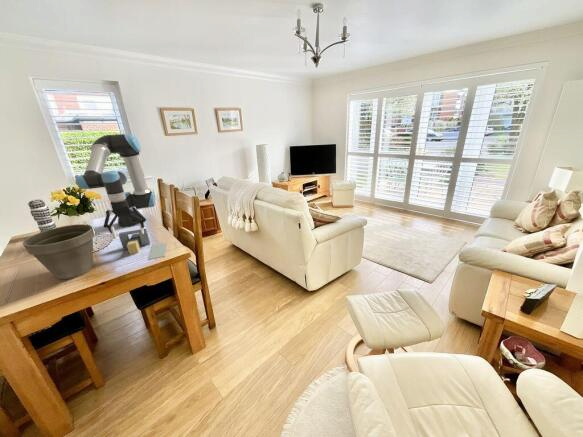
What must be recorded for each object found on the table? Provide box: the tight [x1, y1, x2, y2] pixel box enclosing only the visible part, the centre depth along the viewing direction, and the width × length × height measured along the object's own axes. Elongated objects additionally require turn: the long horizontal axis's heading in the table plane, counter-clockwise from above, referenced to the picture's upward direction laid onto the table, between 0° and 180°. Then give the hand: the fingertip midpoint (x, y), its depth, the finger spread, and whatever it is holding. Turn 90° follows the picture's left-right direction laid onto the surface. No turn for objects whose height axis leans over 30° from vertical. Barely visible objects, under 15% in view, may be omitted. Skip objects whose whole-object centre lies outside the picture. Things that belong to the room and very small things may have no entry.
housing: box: [118, 228, 151, 250], centre depth 145 cm, size 3×14×10 cm, turn 112°
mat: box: [148, 242, 168, 261], centre depth 141 cm, size 18×8×1 cm, turn 22°
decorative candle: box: [27, 199, 57, 233], centre depth 163 cm, size 9×9×25 cm
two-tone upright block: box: [127, 233, 143, 255], centre depth 144 cm, size 16×4×6 cm, turn 22°
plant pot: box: [22, 223, 95, 280], centre depth 119 cm, size 25×25×22 cm
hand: (129, 235), depth 136 cm, fingers open, 13 cm apart
